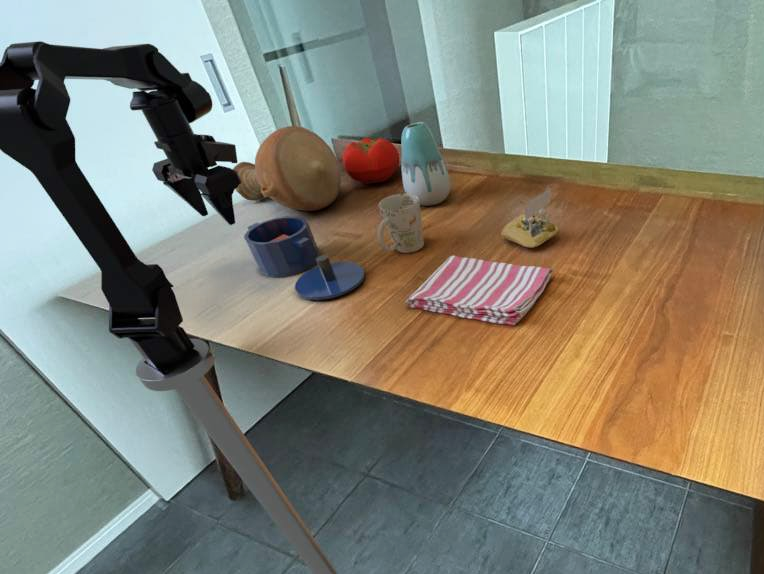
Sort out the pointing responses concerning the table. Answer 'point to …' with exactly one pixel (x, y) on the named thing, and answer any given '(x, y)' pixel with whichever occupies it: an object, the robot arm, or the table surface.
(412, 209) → the mug
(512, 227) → the tan figurine base
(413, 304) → the dish towel
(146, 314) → the robot arm
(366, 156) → the tomato
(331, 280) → the pot lid
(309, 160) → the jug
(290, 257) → the pot
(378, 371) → the table surface
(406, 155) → the vase
